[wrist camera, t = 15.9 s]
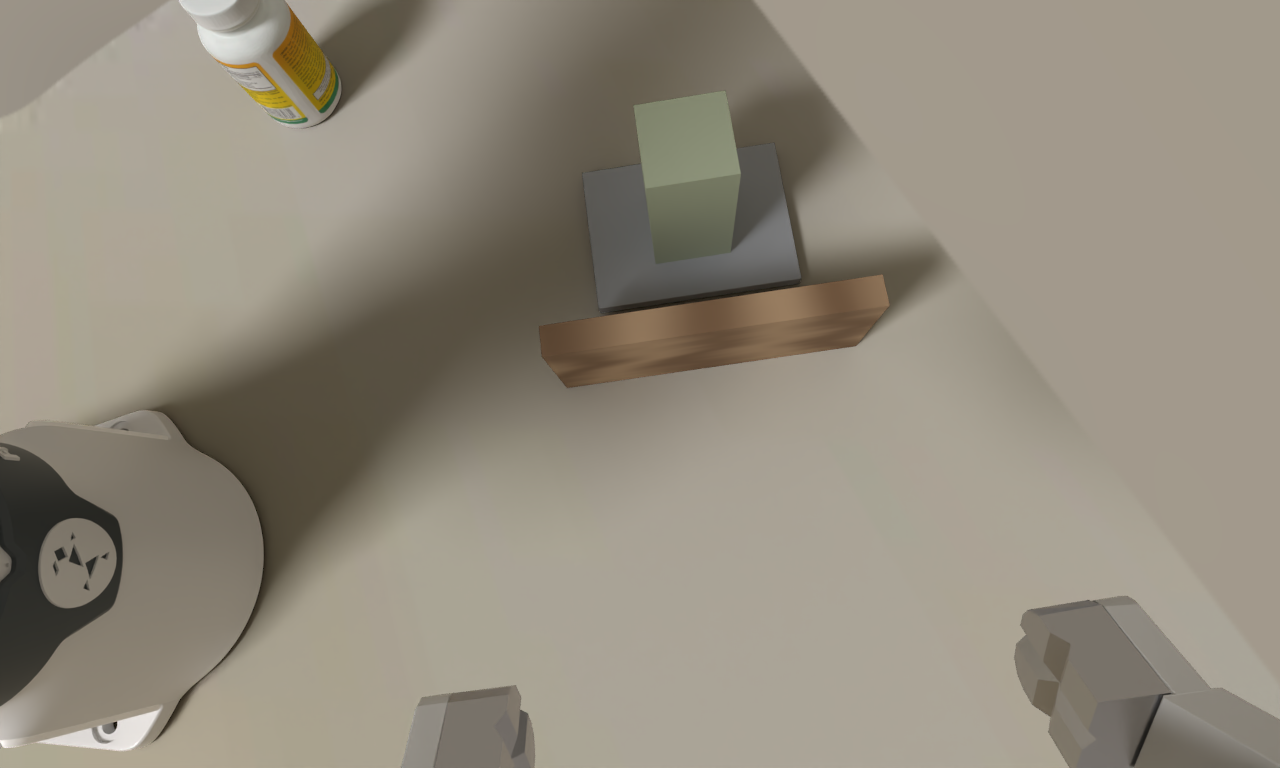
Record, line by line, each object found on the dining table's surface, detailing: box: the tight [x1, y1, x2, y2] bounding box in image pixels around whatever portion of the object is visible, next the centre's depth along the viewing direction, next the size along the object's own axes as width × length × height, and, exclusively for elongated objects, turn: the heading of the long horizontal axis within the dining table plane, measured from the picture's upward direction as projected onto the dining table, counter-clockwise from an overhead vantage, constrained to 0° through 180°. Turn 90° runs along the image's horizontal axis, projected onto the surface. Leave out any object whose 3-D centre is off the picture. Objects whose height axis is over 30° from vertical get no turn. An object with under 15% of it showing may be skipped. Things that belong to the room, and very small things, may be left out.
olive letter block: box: [633, 90, 741, 264], centre depth 37 cm, size 4×5×9 cm
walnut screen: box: [539, 275, 890, 388], centre depth 37 cm, size 17×2×7 cm, turn 98°
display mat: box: [582, 143, 801, 313], centre depth 42 cm, size 12×9×1 cm
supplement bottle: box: [179, 0, 342, 128], centre depth 42 cm, size 5×5×10 cm
